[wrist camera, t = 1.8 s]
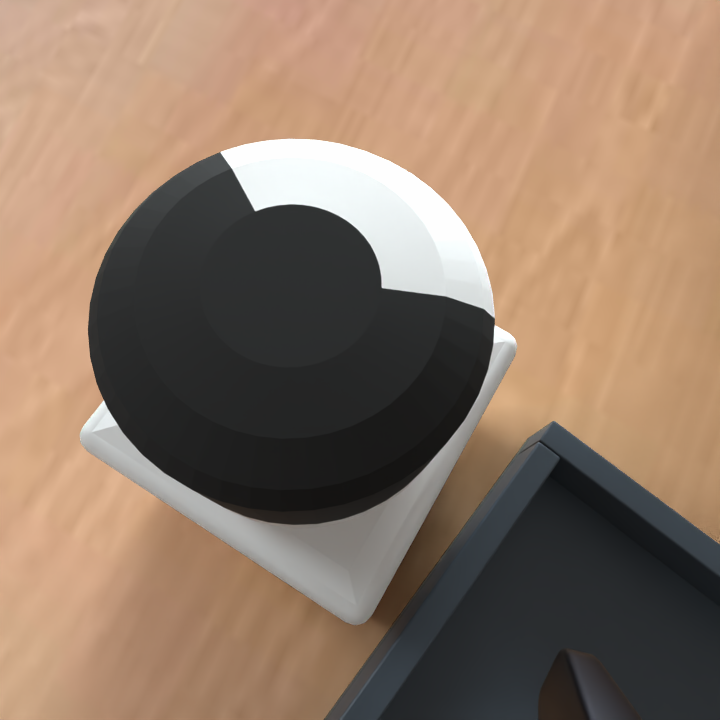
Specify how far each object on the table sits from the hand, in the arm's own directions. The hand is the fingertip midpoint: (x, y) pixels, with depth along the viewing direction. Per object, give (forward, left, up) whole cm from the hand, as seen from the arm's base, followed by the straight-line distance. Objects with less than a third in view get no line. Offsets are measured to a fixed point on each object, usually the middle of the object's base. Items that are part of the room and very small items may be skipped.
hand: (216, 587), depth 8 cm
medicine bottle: (+4, +2, -11) cm, 12 cm away
